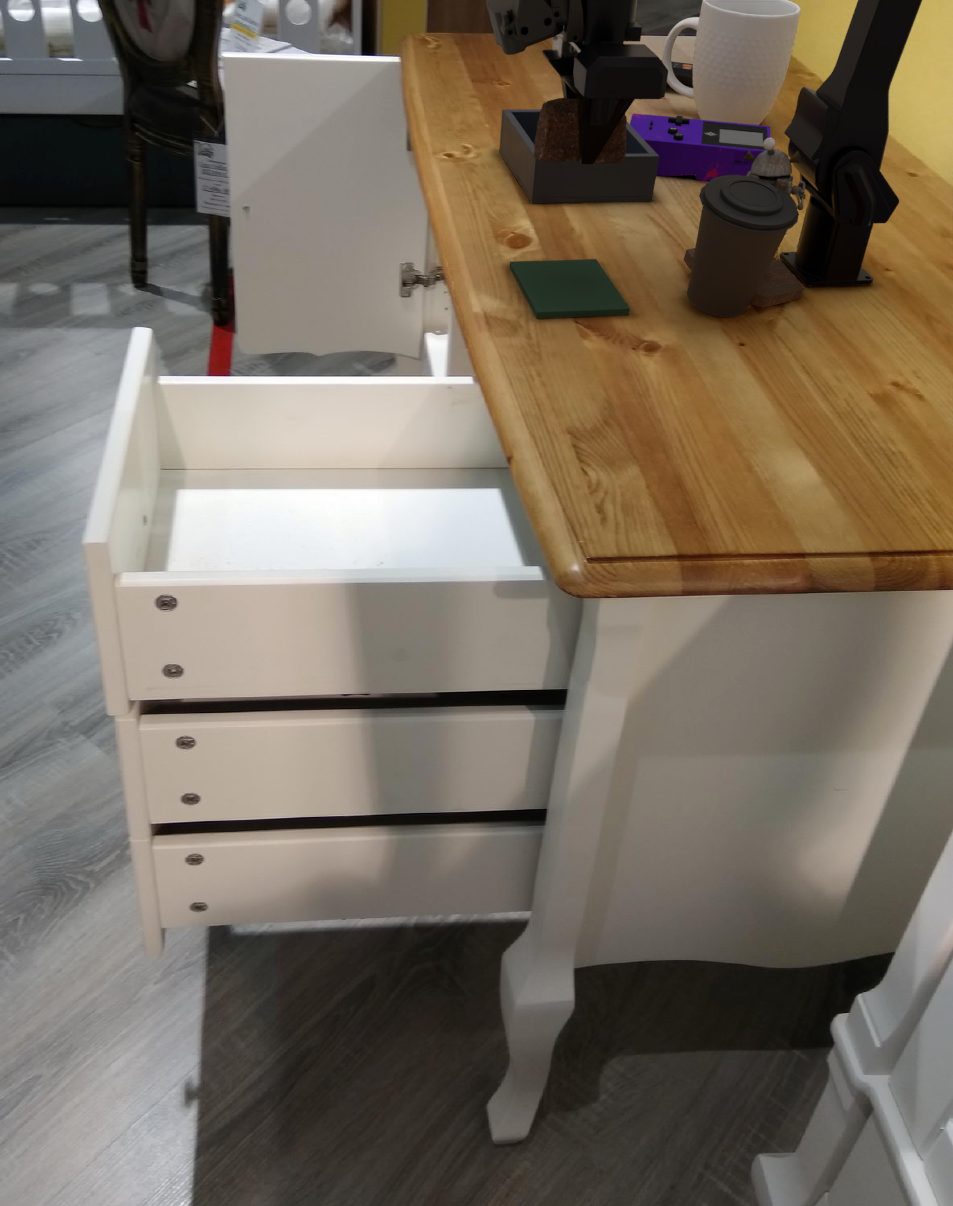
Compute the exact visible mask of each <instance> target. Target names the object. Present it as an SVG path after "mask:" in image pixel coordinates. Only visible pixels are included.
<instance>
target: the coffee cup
mask: <svg viewBox="0 0 953 1206" xmlns="http://www.w3.org/2000/svg"><path fill="white" fill-rule="evenodd" d="M699 199H700V200H699V201H700V203H701V205H702V209H701V214H700V219H699V224H698V225H699V226H698V230H697V236H696V241H695V247H694V248H695V252H694V257H693V263H692V268H691V270H690V274H689V279H688V285H687V291H686V295H687V299H688V300H689V301H690V304H692V305H693V306H694V307H695V308H696V309H698V310H700V311H701V312H703V313H706V314H708V315H711V316H715V317H719V318H734V317H739V316H741V315H744V314H745V313H746V311H747V310H748V309H749V307H750V305H751V304H750V303H751V301H752V299H753V297H754V295H755V293H756V291H757V289H758V287H759V285H760V283H761V281H762V279H763V277H764V275H765V273H766V271H767V269H768V267H769V265H770V263H771V261H772V259H773V258H774V257H775V256H776V253H777V251H778V249H779V247H780V246H781V244H782V243H783V240H784V237H785V236H786V234H787V232H788V230H790V229H792V228H793V227H794V226H795V225H796V224H797V223H798V221H799V215H800V214H799V210H798V209H797V206H798V204H797V203H796V201H795V200H794V198H793V197H792V196H791V195H789V194H788V193H786V192H785V191H784V190H782V189H781V188H779V187H777V186H776V185H773V184H771V183H769V182H767V181H764V180H761V179H758V178H754V177H749V176H742V175H725V176H720V177H716V178H714V179H712V180H711V181H709V182H706V184H704V186H703V187H701V188H700V192H699ZM774 259H775V258H774Z"/></svg>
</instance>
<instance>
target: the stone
mask: <svg viewBox="0 0 953 1206" xmlns="http://www.w3.org/2000/svg"><path fill="white" fill-rule="evenodd" d="M540 109H541V112H540V116H539V119H538V123H537V133H536V137H535V141H534V157H535V158H536V159H538V160H541V161H550V162H565V161H580V151H579V125H578V99H569V98H566V97H558V98H554V99H550V100H547V101H546V102H543V103H542V104H541V108H540ZM627 122H628V119H627V115H626V113H625V114H624V116H623V117H622V119H621V120H620V122H619V123H618V125H617V127H616V128H615V130H614V131H613V133H612V135H611V136H610V138H609V140H608V141H607V143H606V145H605V146H604V148H603V150H602V151H601V153H600V155H599V156H598V158H597V159H596V161H595V163H607V162H608V163H619V162H622V161H623V160H624V158H625V155H626V124H627Z"/></svg>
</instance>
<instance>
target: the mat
mask: <svg viewBox="0 0 953 1206" xmlns="http://www.w3.org/2000/svg"><path fill="white" fill-rule="evenodd" d="M508 268H509V270H510V272H511V273H512V275H513V277H514V279H515V281H516V283H517V285H518V286H519V288H520V291H521V292H522V294H523V296H524V298H525V299H526V302H527V303H528V305H529V307H530V309H531V310H532V313H533V314H534V316H535V318H536V319H538V320H539V319H559V318H560V319H561V318H583V317H584V318H585V317H587V318H589V317H612V316H613V317H615V316H629V315H630V312H631V307H630V306H629V305H628V303H627V302H626V300H625V299H624V297H623V296H622V294H621V293H620V292H619V290H618V289H617V287H616V286H615V284H614V283H613V281H612V280H611V278H610V277H609V275H608V274H607V273H606V271H605V270H604V268H603V267H602V265H601V264H600V261H598V259H597V258H585V259H552V260H551V259H550V260H549V259H548V260H546V259H545V260H517V261H516V260H513V261H511V260H510V261H509V267H508Z"/></svg>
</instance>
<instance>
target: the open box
mask: <svg viewBox="0 0 953 1206" xmlns="http://www.w3.org/2000/svg"><path fill="white" fill-rule="evenodd" d="M540 112H541V108H539V109H538V108H536V109H535V108H534V109H531V108H529V109H528V108H527V109H526V108H525V109H524V108H523V109H522V108H521V109H520V108H515V109H514V108H512V109H510V108H508V109H505V108H504V109H501V120H500V121H501V123H500V137H499V148H498V149H499V151H498V153H499V155H500V156H501V157H502V160H503V161H504V163H505V164H506V166H507V167H508V169H509V170H510V172H511V173H512V175H513V176H514V178H515V180H516V182H518V184H519V186H520V188H521V189H522V191H523V192H524V194H525V195H526V197H527V199H528V200H529V202H530V203H531V204H564V203H567V204H568V203H569V204H570V203H571V204H572V203H613V202H614V203H617V202H652V201H653V197H654V191H655V185H656V179H657V175H656V173H657V167H658V160H659V155H658V154H657V153H656V152H655V151H654V150H653V149H652V148H651V147H650V146H649V145H648V144H647V143H646V141H645V140H644V139H643V138H642V137H641V136H640V135H639V134H638V133H637V132H636V131H635V130H634V128H633V127H632V126H631V125H630V122H629V121H627V124H626V155H625V158H624V160H623V161H622V162H619V163H608V162H607V163H594V164H591V165H583V164H582V163H581V162H580V161H565V162H550V161H541V160H538V159H536V158H535V157H534V141H535V137H536V133H537V123H538V119H539V116H540Z"/></svg>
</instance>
